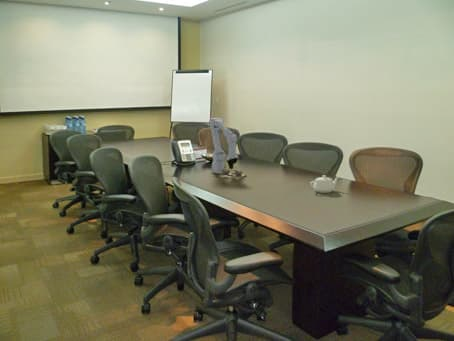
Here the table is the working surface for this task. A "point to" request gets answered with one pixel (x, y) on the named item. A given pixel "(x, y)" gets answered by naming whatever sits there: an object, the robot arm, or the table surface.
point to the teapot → (324, 184)
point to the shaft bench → (232, 174)
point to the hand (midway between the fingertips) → (232, 168)
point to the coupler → (234, 167)
